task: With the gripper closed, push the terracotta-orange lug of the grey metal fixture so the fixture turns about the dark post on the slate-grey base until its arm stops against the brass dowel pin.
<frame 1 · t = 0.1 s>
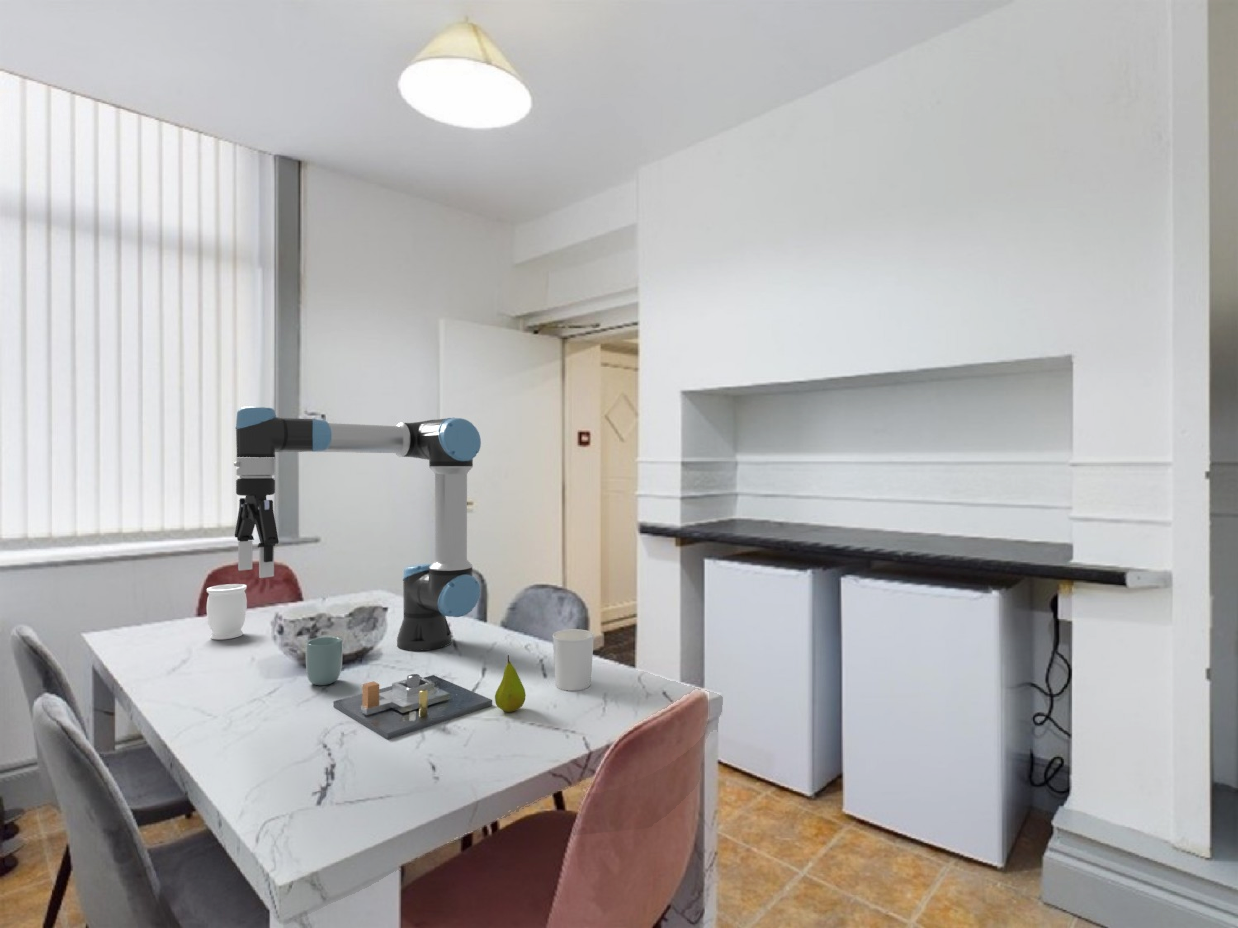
hand: (255, 573, 144), 28 cm above the table, fingers open, 13 cm apart
white tumbler: (573, 685, 154), on the table
fruit: (510, 711, 138), on the table
base: (413, 706, 141), on the table
jar: (226, 637, 196), on the table
cup: (324, 683, 155), on the table
dowel: (423, 721, 132), resting on base
grey metal fixture: (401, 689, 139), point 4 cm above the table, hinge at 0.0°
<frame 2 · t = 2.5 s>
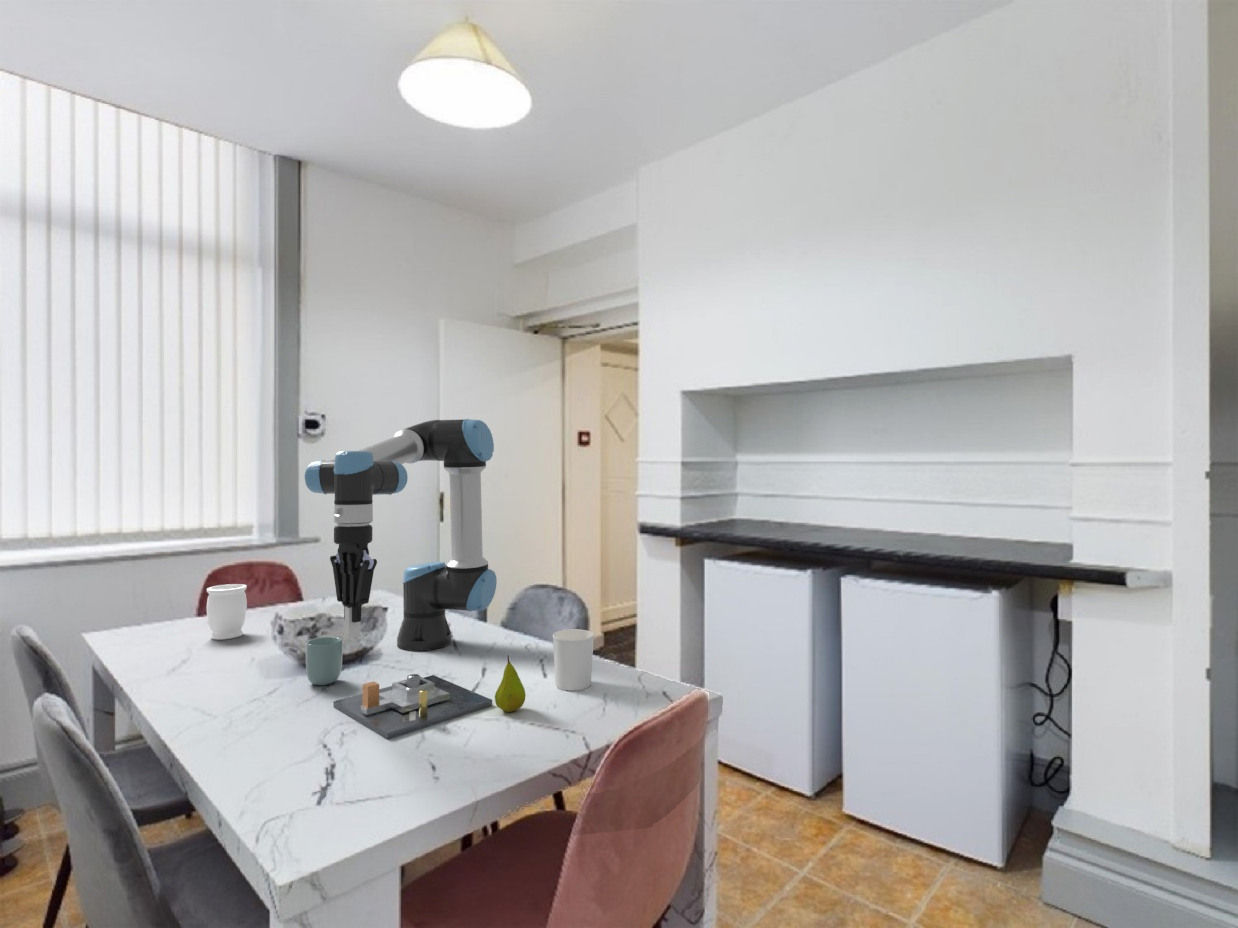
hand: (352, 636, 137), 16 cm above the table, fingers closed
nothing on the table moved.
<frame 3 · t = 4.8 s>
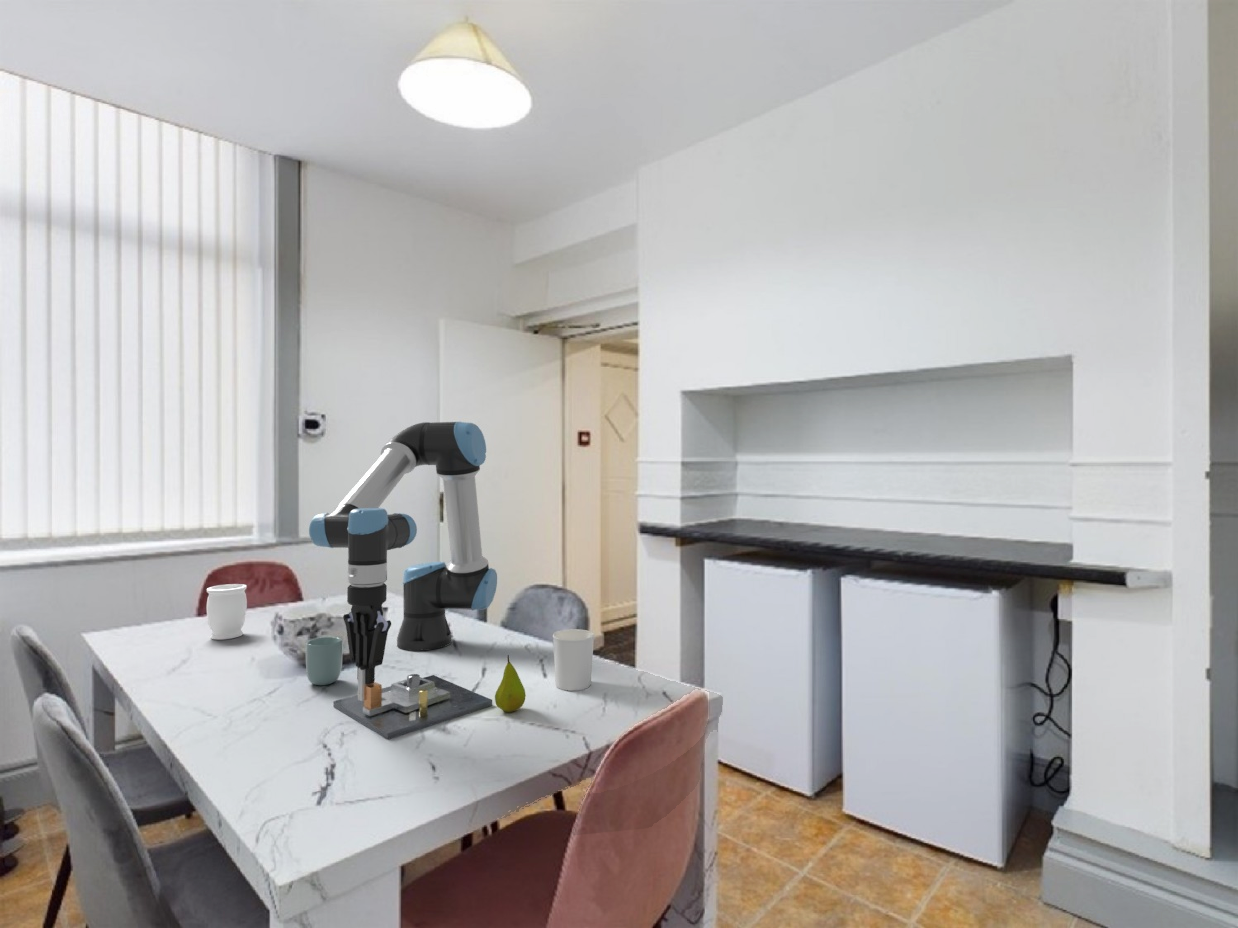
hand: (365, 698, 134), 4 cm above the table, fingers closed
grey metal fixture: (402, 689, 138), point 4 cm above the table, hinge at 5.1°, touching gripper
everything else where it was.
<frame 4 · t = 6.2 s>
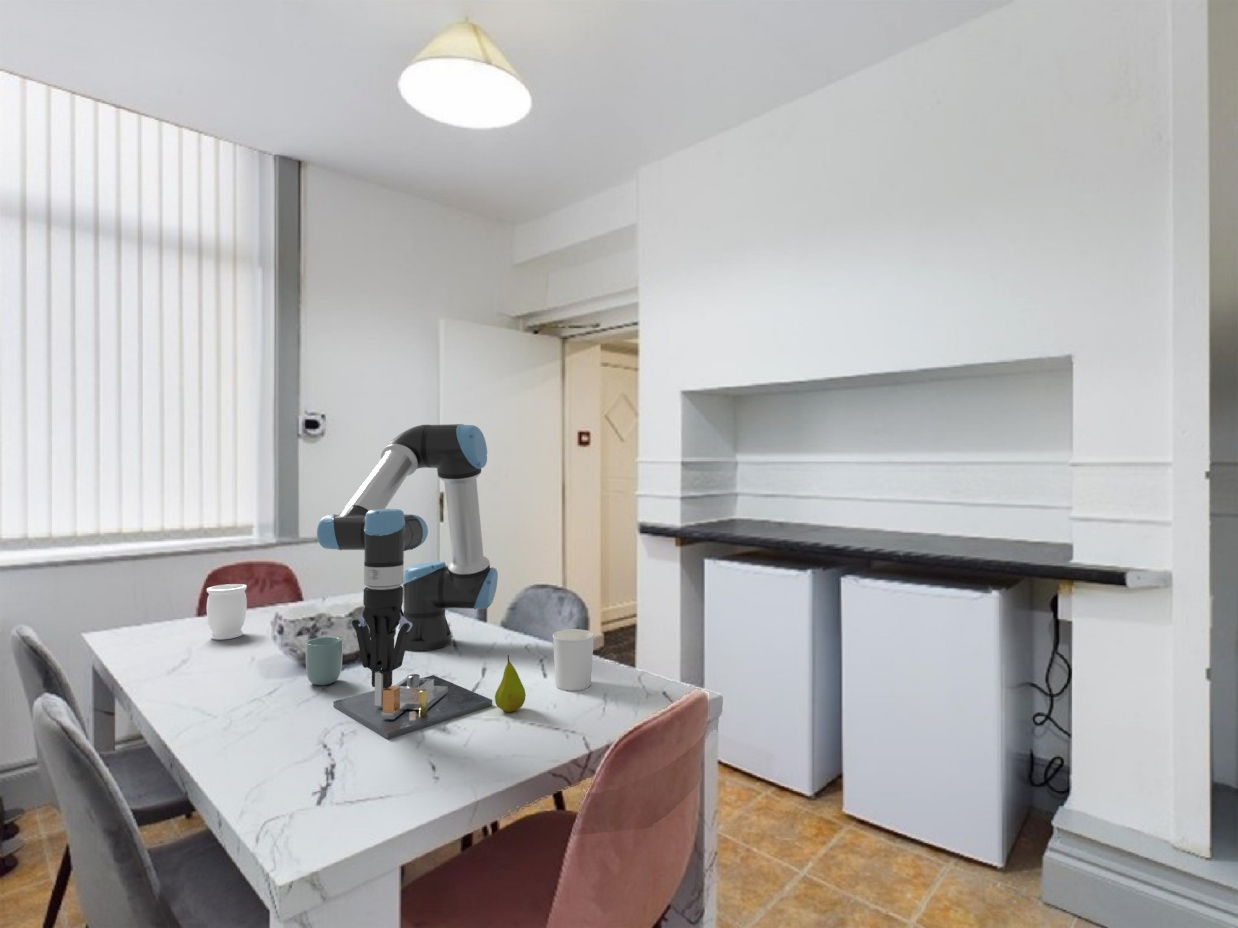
hand: (381, 703, 131), 4 cm above the table, fingers closed
grey metal fixture: (407, 690, 138), point 4 cm above the table, hinge at 34.7°, touching gripper
everything else where it was.
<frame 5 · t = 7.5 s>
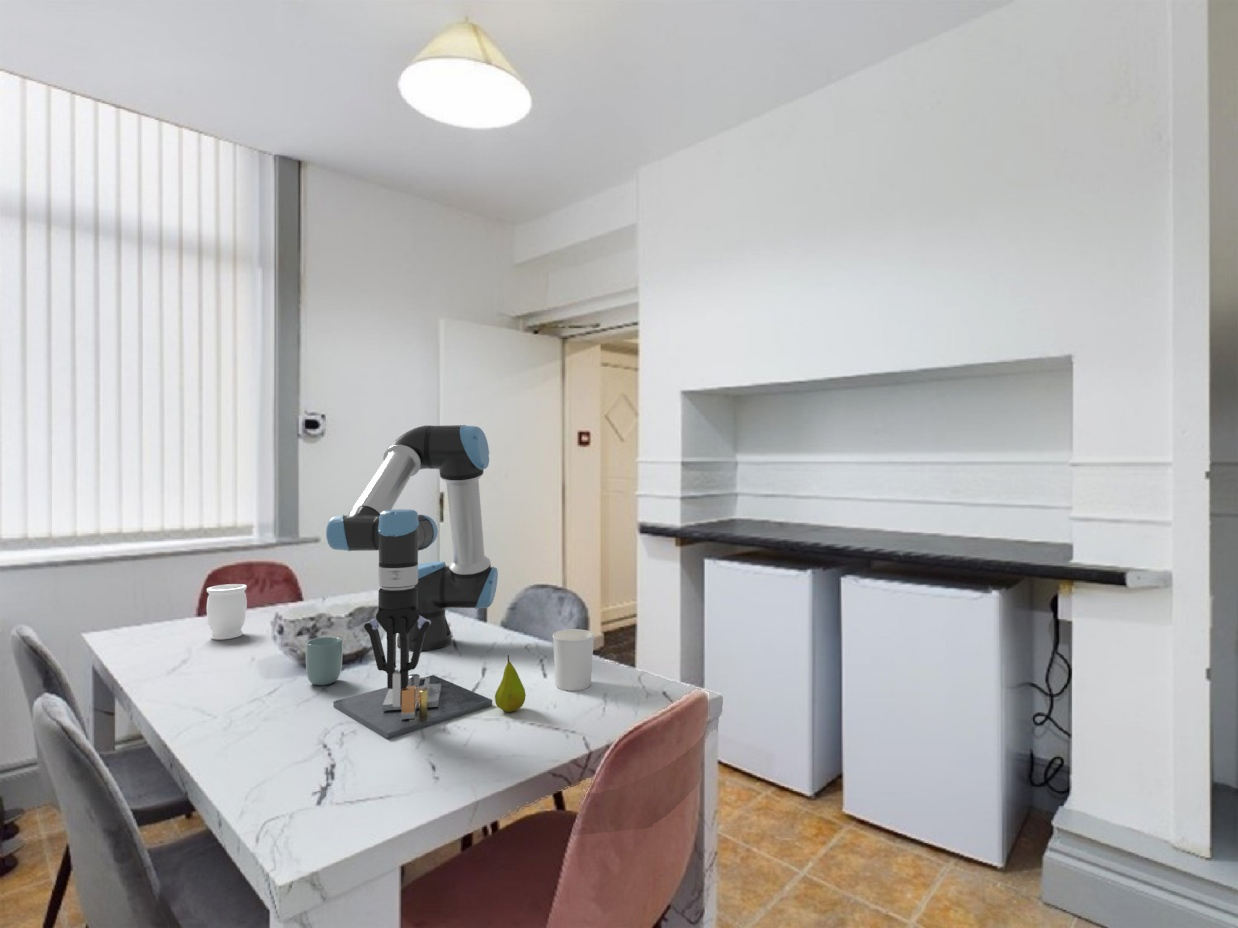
hand: (397, 703, 131), 4 cm above the table, fingers closed
grey metal fixture: (412, 690, 138), point 4 cm above the table, hinge at 55.5°
everything else where it was.
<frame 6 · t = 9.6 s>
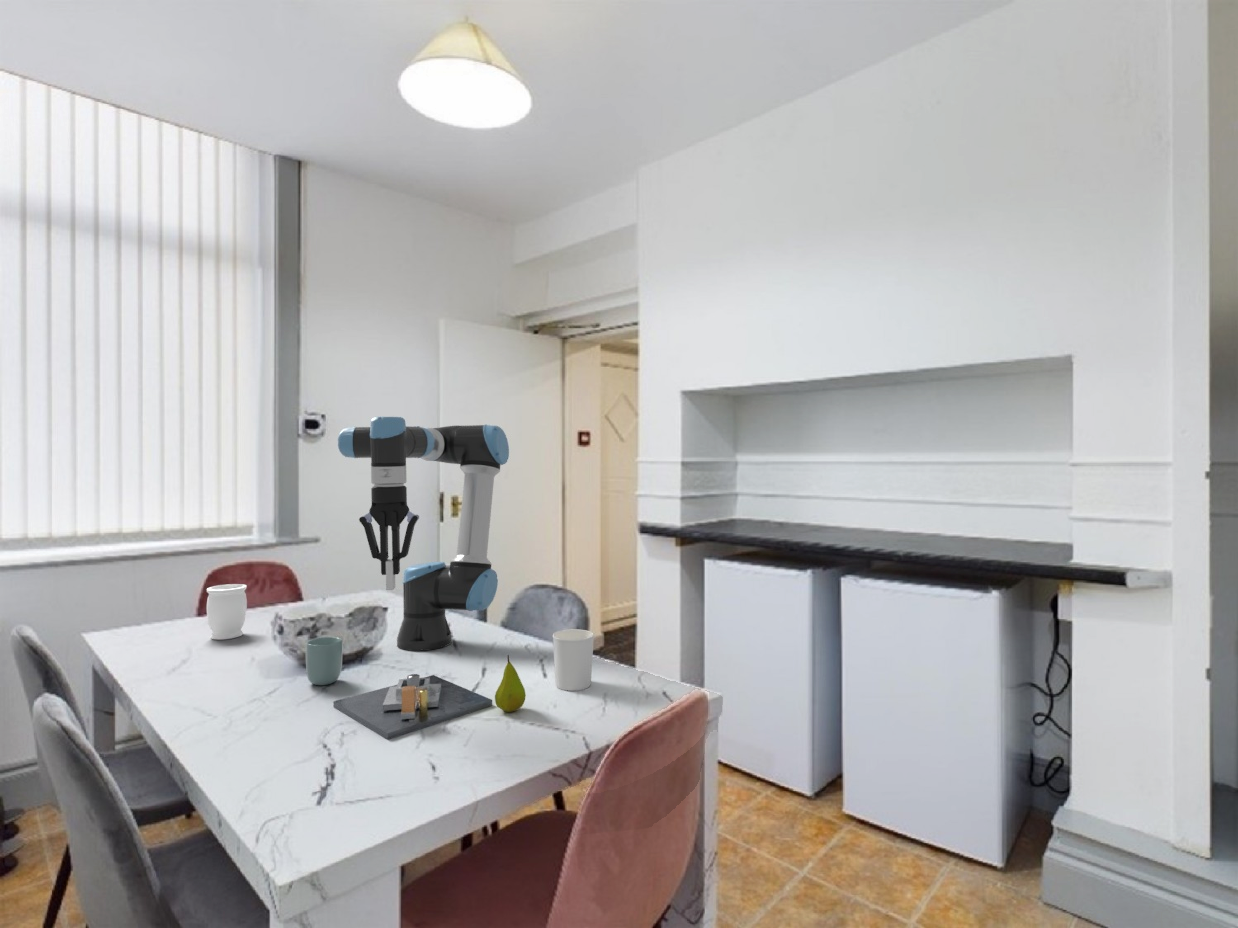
hand: (390, 588, 148), 24 cm above the table, fingers closed
nothing on the table moved.
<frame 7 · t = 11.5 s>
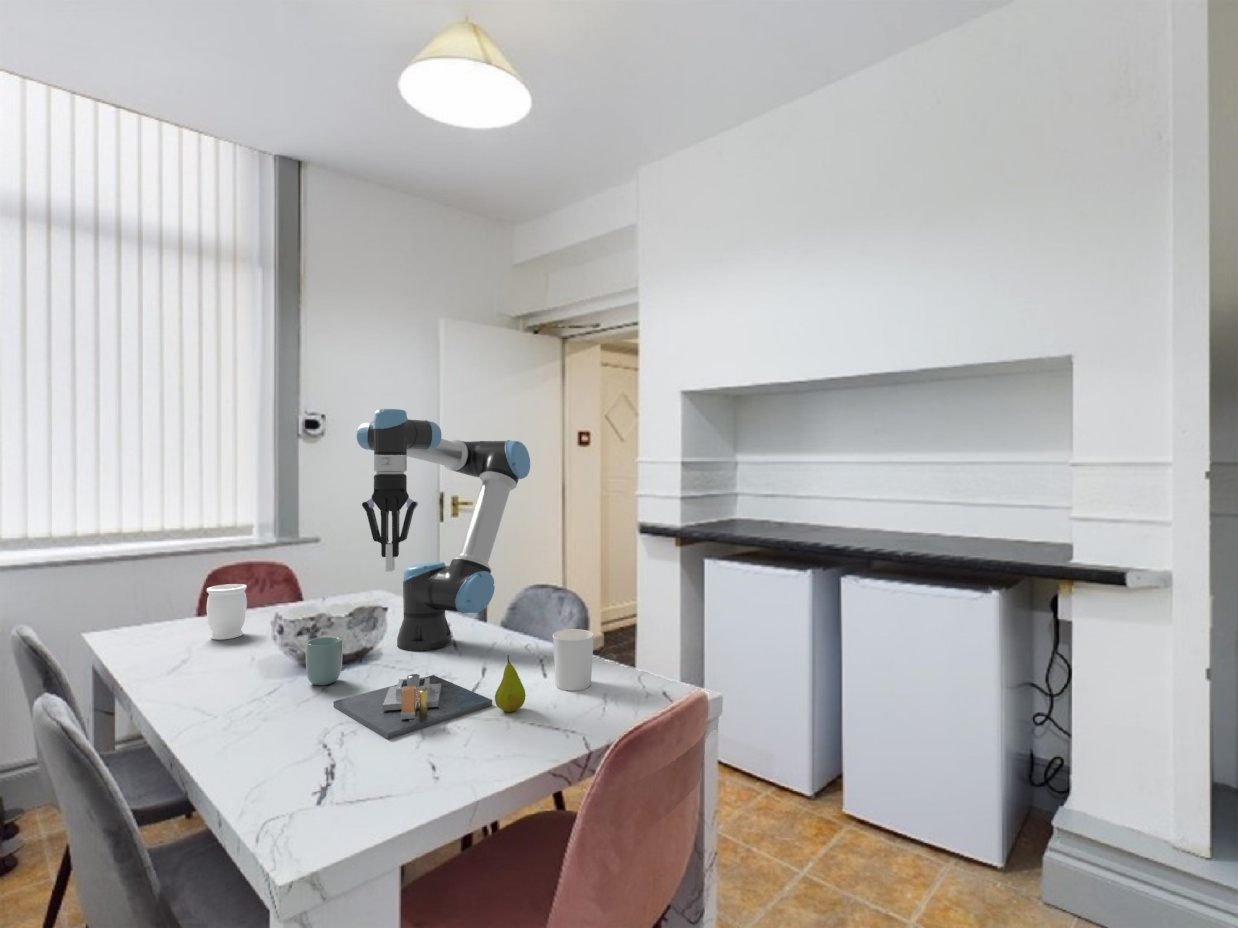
hand: (390, 570, 158), 26 cm above the table, fingers closed
nothing on the table moved.
at the end: grey metal fixture at +56° (first picture: +0°) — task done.
